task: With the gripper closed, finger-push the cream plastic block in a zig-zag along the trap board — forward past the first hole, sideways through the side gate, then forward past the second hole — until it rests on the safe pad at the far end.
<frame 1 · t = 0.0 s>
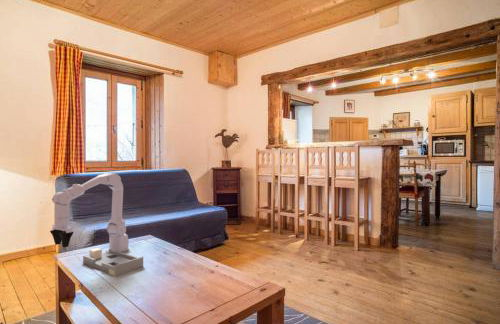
hand: (61, 245, 138), 10 cm above the table, fingers open, 7 cm apart
board: (112, 264, 140), on the table
block: (95, 257, 144), point 2 cm above the table, touching board
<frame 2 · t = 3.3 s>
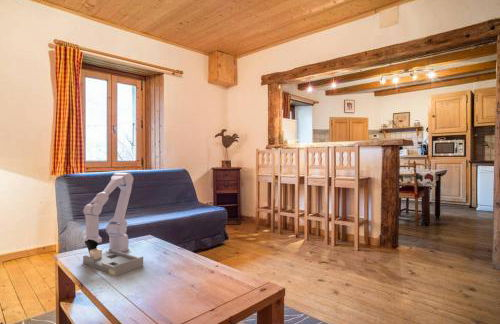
hand: (92, 254, 146), 3 cm above the table, fingers closed
block: (95, 257, 144), point 2 cm above the table, touching gripper
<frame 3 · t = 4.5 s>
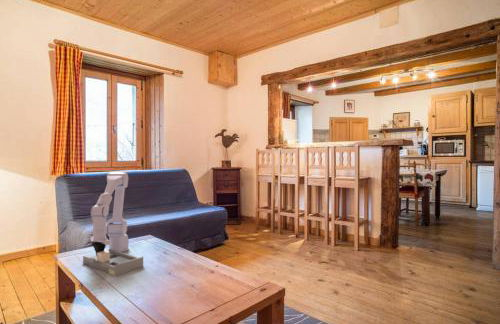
hand: (99, 257, 142), 3 cm above the table, fingers closed
block: (103, 260, 140), point 2 cm above the table, touching board, gripper
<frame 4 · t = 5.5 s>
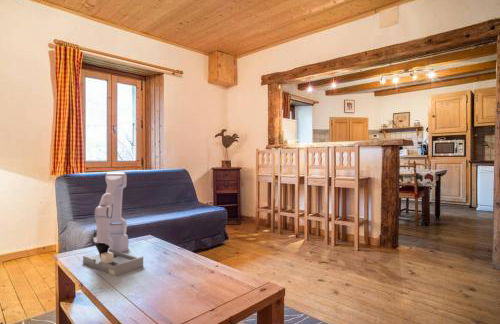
hand: (103, 258, 140), 3 cm above the table, fingers closed
block: (107, 261, 139), point 2 cm above the table, touching board, gripper
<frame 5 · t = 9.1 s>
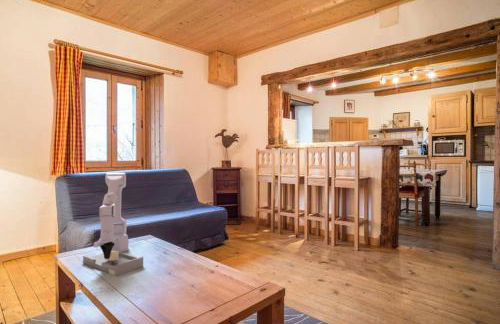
hand: (106, 258, 138), 4 cm above the table, fingers closed, pressing on block
block: (111, 259, 140), point 2 cm above the table, tilted 14°, touching board, gripper
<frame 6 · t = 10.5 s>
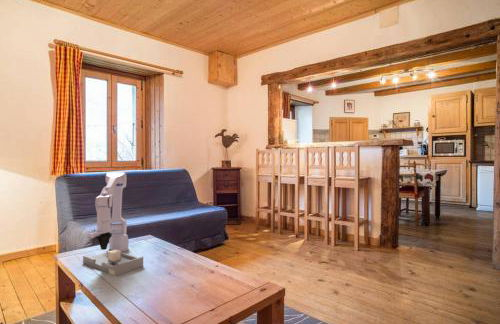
hand: (103, 249, 137), 8 cm above the table, fingers closed
block: (114, 259, 142), point 2 cm above the table, touching board
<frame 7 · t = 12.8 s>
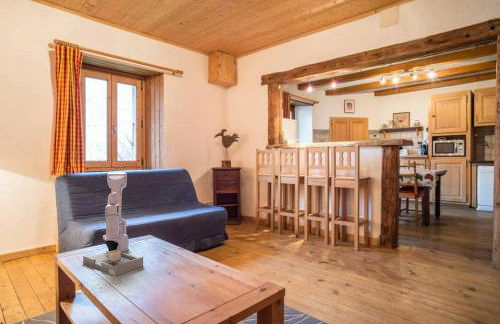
hand: (112, 255, 145), 3 cm above the table, fingers closed
block: (114, 259, 142), point 2 cm above the table, touching gripper
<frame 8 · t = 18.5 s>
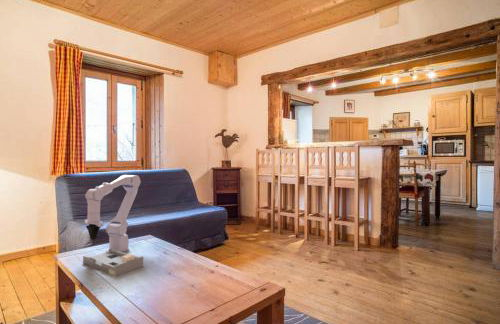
hand: (93, 239, 147), 10 cm above the table, fingers closed
block: (128, 264, 135), point 2 cm above the table, touching board
at the end: block inside the target area on the board (1.1 cm from its centre), point 2.0 cm above the board's base; block tilted 0° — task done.
